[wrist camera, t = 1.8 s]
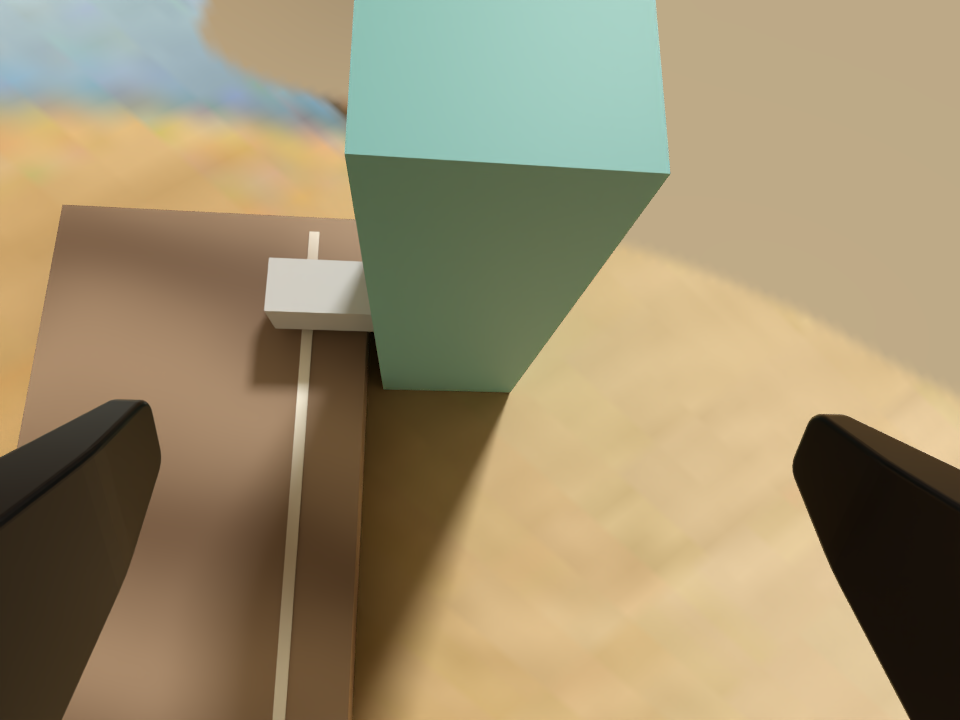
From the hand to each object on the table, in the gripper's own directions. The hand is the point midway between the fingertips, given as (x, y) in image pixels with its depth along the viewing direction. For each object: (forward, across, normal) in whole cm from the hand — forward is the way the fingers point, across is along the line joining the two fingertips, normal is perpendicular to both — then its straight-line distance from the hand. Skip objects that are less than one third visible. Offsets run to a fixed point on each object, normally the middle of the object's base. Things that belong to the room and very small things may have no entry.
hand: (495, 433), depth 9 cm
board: (+6, +7, +9) cm, 13 cm away
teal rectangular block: (+11, +1, +4) cm, 12 cm away
